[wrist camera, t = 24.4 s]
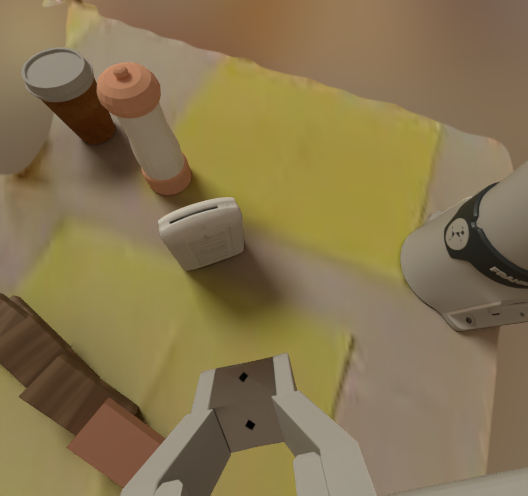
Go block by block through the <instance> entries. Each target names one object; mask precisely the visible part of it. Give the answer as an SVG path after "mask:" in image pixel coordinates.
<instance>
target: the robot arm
mask: <svg viewBox="0 0 528 496" xmlns="http://www.w3.org/2000/svg"><path fill="white" fill-rule="evenodd" d="M401 267H402V271H403V274H404V277H405V279H406V281H407V283H408V284H409V286H410V287H411V289H412V290H413V291H414V292H415V294H416V295H417V296H418V297H419V298H420V299H421V300H423V301H424V302H425V303H427V304H428V305H429V306H431V307H432V308H434V309H435V310H437V311H438V312H439V313H440V314H441V315H442V316H443V318H444V319H445V320H446V321H447V323H448V324H449V325H450V326H451V327H452V328H453V329H455V330H457V331H467V330H474V329H481V328H488V327H495V326H502V325H509V324H516V323H523V322H528V160H527V161H526V162H525V163H524V164H522V165H521V166H520V167H519V168H517V169H516V170H515V171H514V172H512V173H511V174H510V175H509V176H507V177H506V178H505V179H503V180H502V181H501V182H497V183H494V184H492V185H489V186H488V187H486V188H484V189H482V190H481V191H479V192H477V193H476V194H474V195H473V196H472V197H467V198H465V199H464V200H462V201H460V202H459V203H457V204H455V205H454V206H452V207H450V208H449V209H447V210H446V211H436V212H434V213H433V214H431V215H430V216H429V218H428V219H427V221H426V223H425V224H424V225H423V226H422V227H420V228H418V229H417V230H415V231H414V232H412V233H411V234H410V235H409V236H408V237H407V239H406V240H405V242H404V244H403V246H402V250H401ZM466 319H468V321H469V323H467V321H466ZM280 442H285V444H286V445H287V446H288V448H289V449H290V451H291V452H292V453H293V455H294V456H295V457H296V458H295V460H294V461H293V465H294V473H295V482H296V490H297V496H377V495H376V492H375V489H374V486H373V484H372V481H371V478H370V475H369V473H368V470H367V467H366V465H365V462H364V459H363V456H362V454H361V451H360V448H359V445H358V443H357V441H356V440H355V439H354V438H352V437H351V436H350V435H349V434H348V433H347V432H346V431H344V430H343V429H342V428H341V427H340V426H339V425H338V424H337V423H335V422H334V421H333V420H332V419H331V418H330V417H329V416H328V415H326V414H325V413H324V412H323V411H322V410H321V409H320V408H319V407H317V406H316V405H315V404H314V403H313V402H312V401H311V400H310V399H308V398H307V397H306V396H305V395H304V394H303V393H302V392H301V391H297V387H296V383H295V379H294V375H293V371H292V367H291V363H290V359H289V355H288V353H284V354H280V355H276V356H273V357H269V358H265V359H260V360H256V361H251V362H247V363H242V364H237V365H232V366H226V367H221V368H217V369H212V370H207V371H202V373H201V374H200V377H199V381H198V385H197V389H196V394H195V398H194V402H193V406H192V410H191V414H187V415H186V416H185V417H184V418H183V419H182V420H181V421H180V423H179V424H178V425H177V426H176V427H175V428H174V430H173V431H172V432H171V433H170V434H169V435H168V437H167V438H166V439H165V440H164V441H163V443H162V444H161V445H160V446H159V447H158V448H157V450H156V451H155V452H154V453H153V454H152V455H151V457H150V458H149V459H148V460H147V461H146V462H145V464H144V465H143V466H142V467H141V468H140V469H139V471H138V472H137V473H136V474H135V475H134V476H133V478H132V479H131V480H130V481H129V482H128V483H127V485H126V486H125V487H124V488H123V489H122V492H121V495H120V496H210V495H211V493H212V491H213V489H214V487H215V485H216V483H217V481H218V479H219V477H220V475H221V473H222V471H223V469H224V467H225V466H226V464H227V462H228V460H229V458H230V456H231V454H230V453H233V452H237V451H241V450H245V449H249V448H253V447H258V446H263V445H269V444H275V443H280ZM383 496H528V467H525V468H520V469H514V470H510V471H504V472H499V473H494V474H489V475H484V476H479V477H474V478H469V479H464V480H459V481H454V482H449V483H444V484H439V485H434V486H428V487H423V488H418V489H413V490H408V491H403V492H398V493H393V494H388V495H383Z"/></svg>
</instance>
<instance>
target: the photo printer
mask: <svg viewBox="0 0 528 496" xmlns="http://www.w3.org/2000/svg"><path fill="white" fill-rule="evenodd" d="M158 225H159V234H160V238H161V239H162V241H163V242H164V244H165V245H166V246H167V248H168V249H169V250H170V252H171V253H172V255H173V256H174V257H175V259H176V260H177V261H178V263H179V264H180V265H181V266H182V267H183V269H184V270H185V271H189V270H194V269H197V268H201V267H204V266H207V265H210V264H213V263H216V262H219V261H221V260H224V259H227V258H230V257H232V256H235V255H237V254H239V253H241V252H243V251H244V235H243V221H242V213H241V211H240V208H239V206H238V205H237V204H236V202H235V199H234V198H233V197H223V198H216V199H210V200H206V201H202V202H198V203H195V204H192V205H188V206H186V207H183V208H180V209H178V210H176V211H173V212H171V213H169V214H167V215H166V216H164V217H163V218H161V219H160V220H159V221H158Z"/></svg>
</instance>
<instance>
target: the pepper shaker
mask: <svg viewBox="0 0 528 496" xmlns="http://www.w3.org/2000/svg"><path fill="white" fill-rule="evenodd" d="M97 95H98V99H99V101H100V103H101V105H102V106H104V107H105V108H106V109H107V110H108V111H109V112H110V113H112V114H113V115H116V116H117V118H118V120H119V122H120V123H121V125H122V127H123V129H124V131H125V132H126V134H127V136H128V139H129V142H130V145H131V148H132V151H133V153H134V156H135V158H136V160H137V161H138V163H139V164H140V166H141V171H142V173H143V175H144V177H145V179H146V180H147V182H148V184H149V185H150V187H151V188H152V189H153V190H154V191H155V192H156V193H159V194H161V195H174V194H177V193H179V192H182V191H183V190H184V189H185V188H187V186H188V185H189V183H190V181H191V170H190V167H189V165H188V162H187V159H186V157H185V155H184V154H183V153H182V152H181V148H180V145H179V142H178V141H177V139H176V137H175V135H174V134H173V132H172V130H171V129H170V127H169V125H168V124H167V121H166V119H165V116H164V114H163V111H162V108H161V106H160V103H159V100H160V96H161V91H160V84H159V82H158V80H157V79H156V77H155V76H154V74H153V73H152V72H150V71H149V70H148V69H146V68H145V67H144V66H142V65H139V64H137V63H129V62H128V63H119V64H116V65H113V66H111V67H109V68H107V69H106V70H105V71H104V72H103V73H102V74H100V76H99V78H98V81H97Z"/></svg>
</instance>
